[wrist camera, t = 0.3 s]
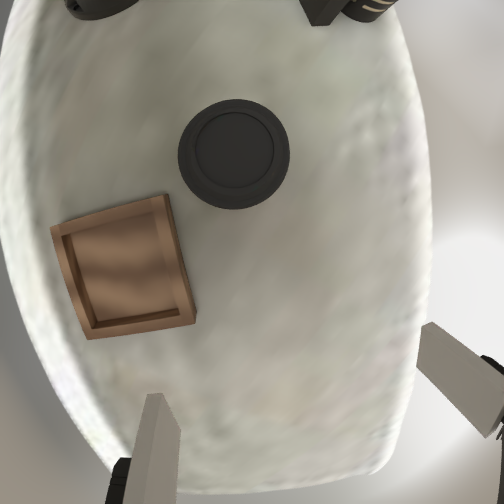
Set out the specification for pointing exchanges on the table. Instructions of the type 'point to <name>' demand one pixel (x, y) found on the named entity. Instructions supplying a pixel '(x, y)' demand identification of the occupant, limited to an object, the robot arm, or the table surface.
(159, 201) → the tray
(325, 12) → the light fixture
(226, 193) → the coffee cup
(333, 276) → the table surface
